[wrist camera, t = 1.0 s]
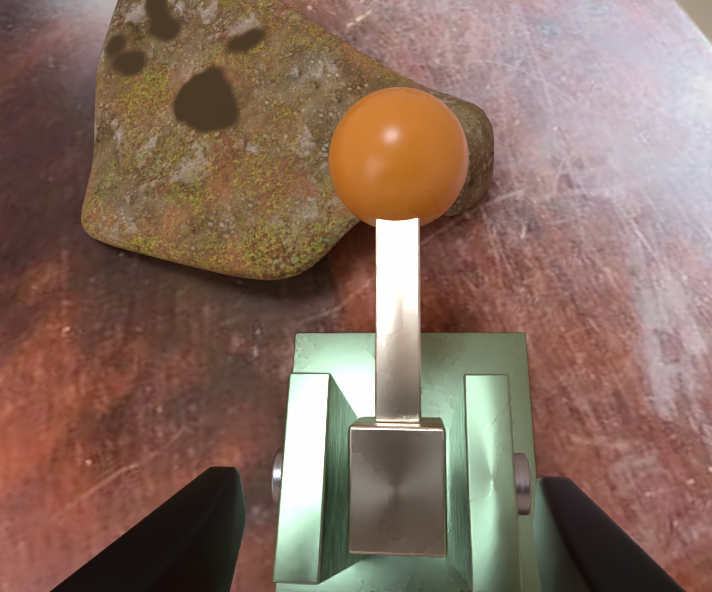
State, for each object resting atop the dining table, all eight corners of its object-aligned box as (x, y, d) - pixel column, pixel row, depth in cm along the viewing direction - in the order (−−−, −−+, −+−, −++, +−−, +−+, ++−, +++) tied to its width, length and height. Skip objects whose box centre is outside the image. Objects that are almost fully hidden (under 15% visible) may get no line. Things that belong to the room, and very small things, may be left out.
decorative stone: (514, 179, 25) (506, 107, 21) (268, 428, 24) (207, 409, 20) (214, -23, 36) (168, -99, 32) (42, 143, 36) (-30, 91, 31)
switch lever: (339, 126, 17) (317, 62, 13) (462, 120, 16) (473, 53, 13) (336, 517, 16) (310, 562, 12) (469, 522, 15) (483, 571, 12)
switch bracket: (301, 341, 24) (225, 228, 15) (520, 341, 23) (583, 220, 14) (275, 676, 19) (145, 809, 10) (547, 696, 18) (666, 863, 9)
